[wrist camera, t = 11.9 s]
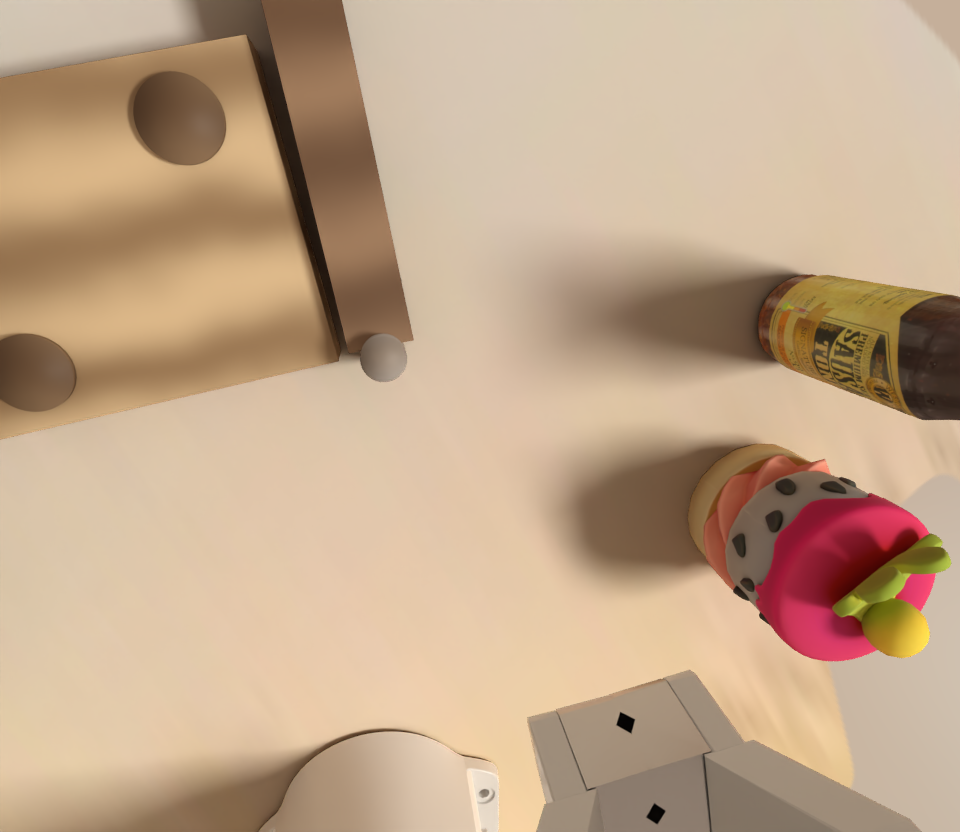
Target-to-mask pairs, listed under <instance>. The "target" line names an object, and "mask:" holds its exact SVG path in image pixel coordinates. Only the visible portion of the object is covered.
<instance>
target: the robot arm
mask: <svg viewBox="0 0 960 832" xmlns="http://www.w3.org/2000/svg"><path fill="white" fill-rule="evenodd" d="M527 723H528V727H529V732H530V736H531V741H532V746H533V750H534V755H535V759H536V764H537V768H538V772H539V776H540V780H541V785H542V789H543V793H544V797H545V800H546V804H544V808H543V811H542V814H541V818H540V821H539V824H538V828H537V831H536V832H921V831H920V830H919V829H918V827H917V826H916V825H915V824H914V823H913V822H912V821H911V820H910V819H908V818H907V817H904V816H903V815H901V814H899V813H897V812H895V811H893V810H891V809H889V808H887V807H885V806H883V805H881V804H879V803H877V802H875V801H873V800H871V799H869V798H867V797H865V796H863V795H861V794H859V793H857V792H855V791H853V790H851V789H849V788H847V787H845V786H843V785H841V784H839V783H838V782H836V781H834V780H832V779H830V778H828V777H826V776H824V775H822V774H820V773H818V772H816V771H814V770H812V769H810V768H808V767H806V766H804V765H802V764H800V763H798V762H796V761H794V760H792V759H790V758H788V757H786V756H784V755H782V754H780V753H778V752H776V751H774V750H772V749H770V748H768V747H767V746H765V745H763V744H761V743H759V742H757V741H755V740H751V741H747V742H744V740H743V739H742V737H741V736H740V735H739V733H738V732H737V731H736V729H735V728H734V726H733V725H732V724H731V722H730V721H729V719H728V718H727V717H726V715H725V714H724V713H723V711H722V710H721V708H720V707H719V706H718V704H717V703H716V701H715V700H714V699H713V697H712V696H711V695H710V693H709V692H708V690H707V689H706V688H705V686H704V685H703V684H702V682H701V681H700V679H699V678H698V677H697V675H696V674H695V673H694V672H692V671H691V670H688V671H684V672H681V673H678V674H675V675H671V676H668V677H665V678H663V679H658V680H655V681H652V682H648V683H645V684H642V685H639V686H635V687H632V688H629V689H626V690H622V691H619V692H616V693H613V694H609V695H608V696H604V697H600V698H596V699H593V700H589V701H585V702H581V703H578V704H574V705H570V706H566V707H563V708H559V709H556V711H555V710H554V711H550V712H546V713H543V714H539V715H535V716H531V717H527ZM258 832H499V777H498V769H497V767H496V765H494V764H493V763H491V762H489V761H486V760H482V759H477V758H471V757H464V756H462V755H459V754H457V753H456V752H454V751H452V750H451V749H449V748H448V747H446V746H444V745H443V744H441V743H439V742H437V741H435V740H433V739H430V738H428V737H425V736H421V735H418V734H413V733H407V732H376V733H369V734H364V735H360V736H356V737H353V738H350V739H347V740H344V741H342V742H339V743H337V744H335V745H333V746H331V747H329V748H327V749H326V750H324V751H322V752H321V753H320V754H318V755H317V756H315V757H314V758H313V759H312V760H310V761H309V762H308V763H307V764H306V765H305V766H304V767H303V768H302V769H301V770H300V771H299V773H298V774H297V775H296V776H295V778H294V779H293V781H292V782H291V784H290V786H289V788H288V790H287V792H286V795H285V797H284V800H283V802H282V805H281V807H280V809H279V810H278V812H277V813H276V814H275V815H274V816H273V817H272V818H271V819H269V820H268V821H267V822H266V823H265V824H264V825H263V826H262V828H261V829H260V830H259V831H258Z"/></svg>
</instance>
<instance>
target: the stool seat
mask: <svg viewBox="0 0 960 832" xmlns="http://www.w3.org/2000/svg"><path fill="white" fill-rule="evenodd" d="M340 352H341V349H340V345H339V342H338V338H337V334H336V331H335V327H334V324H333V320H332V317H331V313H330V309H329V306H328V302H327V299H326V295H325V292H324V288H323V284H322V281H321V277H320V274H319V270H318V267H317V263H316V259H315V256H314V252H313V249H312V245H311V242H310V238H309V234H308V231H307V227H306V224H305V220H304V217H303V213H302V209H301V206H300V202H299V199H298V195H297V192H296V188H295V184H294V181H293V177H292V174H291V170H290V167H289V163H288V159H287V156H286V152H285V149H284V145H283V142H282V138H281V134H280V131H279V127H278V124H277V120H276V117H275V113H274V109H273V106H272V102H271V99H270V95H269V92H268V88H267V84H266V81H265V77H264V74H263V70H262V67H261V63H260V59H259V56H258V52H257V50H256V48H255V47H254V45H253V44H252V42H251V41H250V40H249V38H248V37H247V35H246V34H245V35H240V36H234V37H228V38H223V39H217V40H211V41H206V42H200V43H194V44H189V45H183V46H178V47H172V48H166V49H161V50H155V51H149V52H144V53H138V54H132V55H127V56H121V57H116V58H110V59H104V60H99V61H93V62H87V63H82V64H76V65H70V66H65V67H59V68H54V69H48V70H42V71H37V72H31V73H25V74H20V75H14V76H8V77H3V78H0V439H5V438H9V437H13V436H18V435H22V434H26V433H30V432H35V431H39V430H43V429H48V428H52V427H56V426H61V425H65V424H69V423H74V422H78V421H82V420H87V419H91V418H95V417H100V416H104V415H108V414H113V413H117V412H121V411H125V410H130V409H134V408H138V407H143V406H147V405H151V404H156V403H160V402H164V401H169V400H173V399H177V398H182V397H186V396H190V395H195V394H199V393H203V392H207V391H212V390H216V389H220V388H225V387H229V386H233V385H238V384H242V383H246V382H251V381H255V380H259V379H264V378H268V377H272V376H277V375H281V374H285V373H290V372H294V371H298V370H302V369H307V368H311V367H315V366H320V365H324V364H328V363H333V362H337V361H339V357H340Z"/></svg>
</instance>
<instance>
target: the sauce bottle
mask: <svg viewBox="0 0 960 832" xmlns="http://www.w3.org/2000/svg"><path fill="white" fill-rule="evenodd" d="M758 334H759V341H760V342H761V343H762V348H763V349H764V350H765V351H766V352H767V353H768V354H769V355H770V356H772V357H773V358H774V359H775V360H777V361H779V362H780V363H781V364H782V365H784V366H785V367H787V368H789V369H791V370H794V371H796V372H799V373H801V374H804V375H807V376H809V377H812V378H814V379H817V380H820V381H822V382H825V383H828V384H831V385H833V386H836V387H838V388H840V389H843V390H846V391H848V392H850V393H854V394H857V395H859V396H862V397H865V398H867V399H870V400H872V401H875V402H878V403H880V404H883V405H885V406H888V407H890V408H893V409H896V410H898V411H901V412H903V413H905V414H908V415H911V416H914V417H916V418H919V419H922V420H960V297H958V296H954V295H948V294H942V293H936V292H930V291H924V290H917V289H910V288H903V287H897V286H891V285H885V284H879V283H873V282H867V281H861V280H855V279H848V278H842V277H836V276H830V275H821V276H816V275H801V276H797V277H793V278H792V279H789V280H787V281H784V282H783V283H782V284H781V285H779V286H777V287H776V288H775V289H774V290H773V291H772V292H771V293H770V295H769V296H768V297H767V298H766V300H765V302H764V305H763V306H762V309H761V311H760V314H759V324H758Z"/></svg>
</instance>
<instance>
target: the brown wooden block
mask: <svg viewBox="0 0 960 832" xmlns="http://www.w3.org/2000/svg"><path fill="white" fill-rule="evenodd" d="M261 2H262V6H263V10H264V14H265V18H266V22H267V26H268V30H269V34H270V38H271V42H272V46H273V50H274V54H275V58H276V62H277V67H278V71H279V75H280V79H281V83H282V87H283V91H284V95H285V99H286V103H287V107H288V111H289V115H290V119H291V123H292V127H293V131H294V135H295V139H296V143H297V147H298V151H299V155H300V159H301V163H302V167H303V171H304V175H305V179H306V183H307V187H308V191H309V195H310V199H311V203H312V207H313V211H314V215H315V219H316V223H317V227H318V231H319V236H320V240H321V244H322V248H323V252H324V256H325V260H326V264H327V268H328V272H329V276H330V280H331V284H332V288H333V292H334V296H335V300H336V304H337V308H338V312H339V316H340V320H341V324H342V328H343V332H344V336H345V340H346V344H347V348H348V352H349V353H353V352H358V351H361V357H360V362H361V366H362V369H363V370H364V372H365V373H366V375H368V376H369V377H370V378H371V379H373V380H376V381H379V382H389V381H392V380H395V379H396V378H398V377H399V376H400V375H401V374H402V373H403V371H404V370H405V367H406V364H407V355H406V351H405V348H404V344H403V342H407V341H412V340H413V335H412V330H411V325H410V321H409V316H408V311H407V307H406V302H405V297H404V292H403V288H402V283H401V278H400V273H399V269H398V264H397V259H396V254H395V250H394V245H393V240H392V236H391V231H390V226H389V221H388V217H387V212H386V207H385V202H384V198H383V193H382V188H381V184H380V179H379V174H378V169H377V165H376V160H375V155H374V150H373V146H372V141H371V136H370V131H369V127H368V122H367V117H366V113H365V108H364V103H363V98H362V94H361V89H360V84H359V79H358V75H357V70H356V65H355V61H354V56H353V51H352V46H351V42H350V37H349V32H348V27H347V23H346V18H345V13H344V8H343V4H342V0H261Z"/></svg>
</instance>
